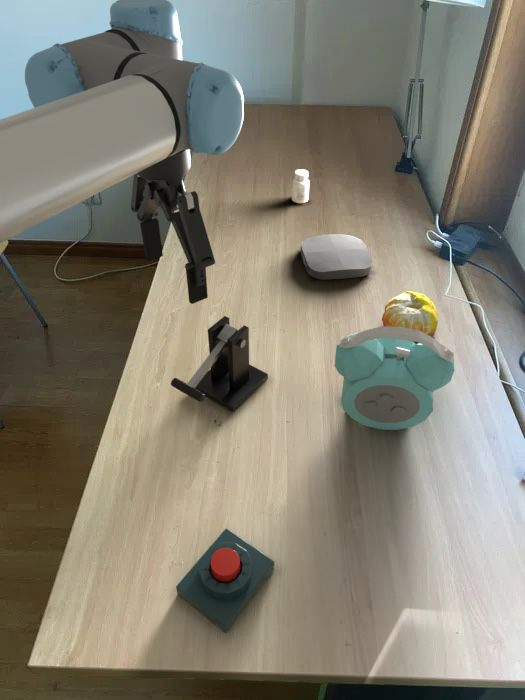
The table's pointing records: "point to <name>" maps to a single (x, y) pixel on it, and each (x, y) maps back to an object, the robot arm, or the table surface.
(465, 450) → the table surface
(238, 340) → the bracket
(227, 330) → the lever
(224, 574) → the button
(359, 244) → the media streaming box
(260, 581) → the button box
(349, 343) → the alarm clock
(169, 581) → the table surface
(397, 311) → the fruit
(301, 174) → the pill bottle
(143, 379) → the table surface
